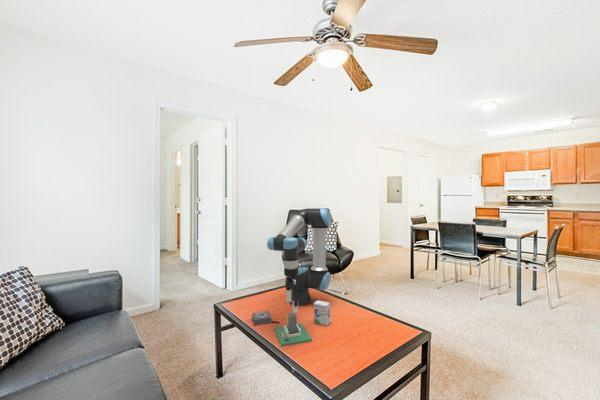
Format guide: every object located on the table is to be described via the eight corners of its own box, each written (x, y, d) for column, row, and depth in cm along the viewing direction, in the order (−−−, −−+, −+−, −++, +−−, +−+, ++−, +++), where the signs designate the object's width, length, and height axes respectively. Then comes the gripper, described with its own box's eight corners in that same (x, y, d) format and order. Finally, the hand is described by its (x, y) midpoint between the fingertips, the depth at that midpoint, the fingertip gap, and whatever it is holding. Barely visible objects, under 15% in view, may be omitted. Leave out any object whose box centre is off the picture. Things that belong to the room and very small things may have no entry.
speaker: (268, 315, 171) (268, 309, 171) (271, 322, 162) (271, 316, 162) (252, 317, 168) (252, 312, 168) (254, 325, 159) (254, 319, 159)
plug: (294, 330, 150) (294, 312, 150) (296, 334, 146) (296, 315, 146) (286, 332, 149) (286, 313, 148) (288, 335, 145) (288, 316, 145)
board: (301, 325, 159) (301, 318, 158) (312, 341, 141) (311, 333, 141) (274, 329, 154) (274, 322, 154) (281, 346, 137) (281, 338, 137)
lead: (279, 322, 161) (279, 321, 161) (278, 323, 161) (278, 322, 161) (271, 321, 163) (271, 320, 163) (270, 322, 162) (270, 321, 162)
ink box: (330, 322, 161) (330, 302, 161) (327, 326, 157) (327, 305, 156) (317, 319, 165) (316, 299, 165) (313, 323, 161) (313, 302, 160)
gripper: (279, 262, 158) (280, 298, 159) (290, 275, 134) (291, 318, 135) (291, 260, 160) (292, 297, 161) (305, 273, 136) (306, 316, 137)
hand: (292, 306), depth 148 cm, fingers open, 13 cm apart
